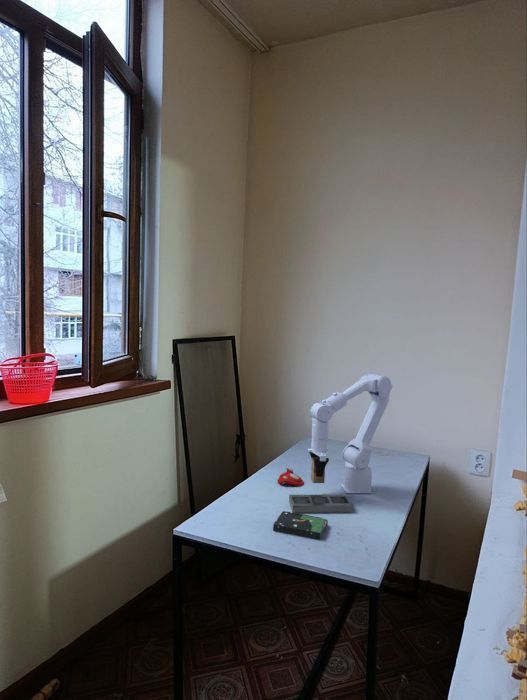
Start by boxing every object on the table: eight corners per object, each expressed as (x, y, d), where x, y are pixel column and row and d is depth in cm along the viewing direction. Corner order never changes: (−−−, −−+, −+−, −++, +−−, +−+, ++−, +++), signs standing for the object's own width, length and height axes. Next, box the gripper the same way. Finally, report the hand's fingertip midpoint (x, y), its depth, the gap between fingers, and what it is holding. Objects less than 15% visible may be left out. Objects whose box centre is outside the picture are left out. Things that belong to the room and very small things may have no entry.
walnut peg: (321, 478, 176) (322, 457, 175) (324, 483, 172) (325, 461, 171) (311, 478, 176) (312, 457, 175) (313, 483, 172) (314, 461, 171)
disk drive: (272, 533, 146) (321, 541, 142) (272, 524, 146) (321, 532, 141) (282, 518, 156) (327, 526, 151) (282, 510, 156) (328, 517, 151)
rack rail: (345, 501, 170) (345, 494, 169) (352, 512, 161) (352, 505, 161) (288, 501, 168) (289, 494, 168) (292, 513, 159) (293, 505, 159)
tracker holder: (309, 482, 184) (288, 480, 178) (305, 492, 185) (283, 491, 179) (292, 465, 194) (272, 462, 189) (288, 475, 195) (267, 473, 189)
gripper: (305, 431, 179) (303, 467, 180) (312, 443, 165) (310, 481, 166) (323, 431, 180) (322, 467, 181) (332, 443, 165) (331, 481, 167)
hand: (318, 474), depth 174 cm, fingers closed on walnut peg, 4 cm apart
